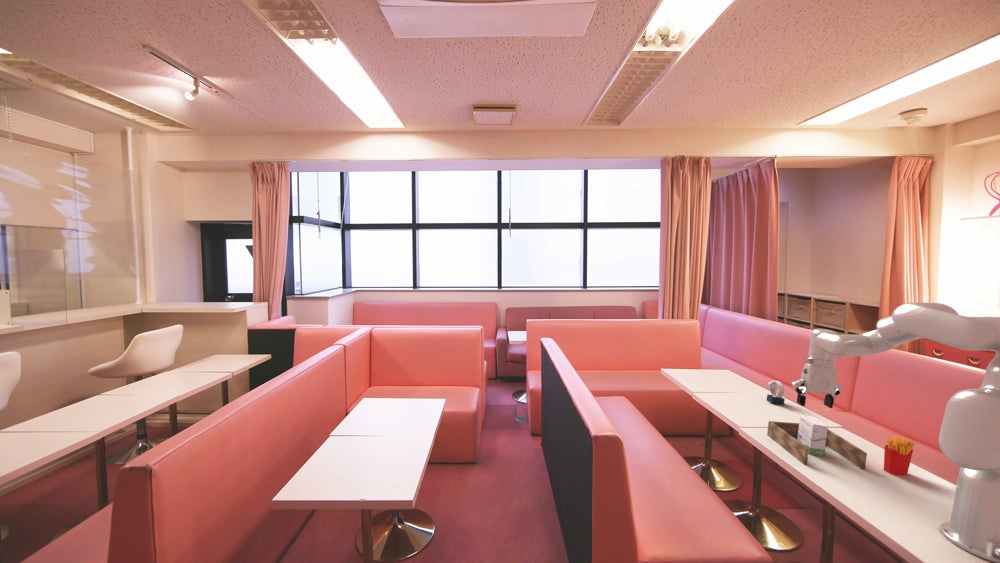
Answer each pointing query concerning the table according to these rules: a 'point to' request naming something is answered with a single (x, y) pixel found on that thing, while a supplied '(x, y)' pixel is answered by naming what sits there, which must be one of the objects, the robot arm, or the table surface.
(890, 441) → the french fries
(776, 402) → the watch
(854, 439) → the table surface
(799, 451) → the brown wooden angled piece
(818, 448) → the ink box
